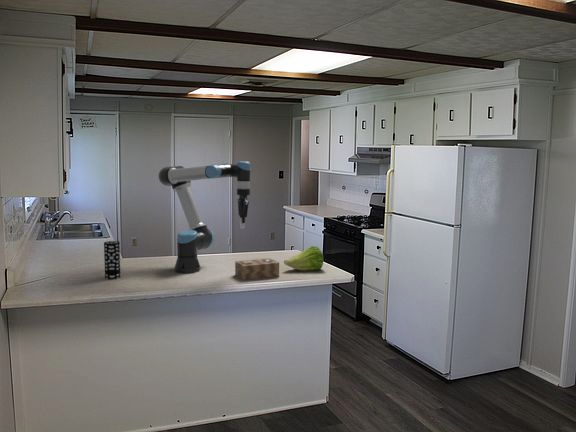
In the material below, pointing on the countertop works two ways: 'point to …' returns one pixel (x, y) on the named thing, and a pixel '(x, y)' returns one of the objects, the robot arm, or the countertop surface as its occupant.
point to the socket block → (257, 269)
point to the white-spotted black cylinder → (112, 259)
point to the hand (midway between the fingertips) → (242, 228)
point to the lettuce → (306, 260)
